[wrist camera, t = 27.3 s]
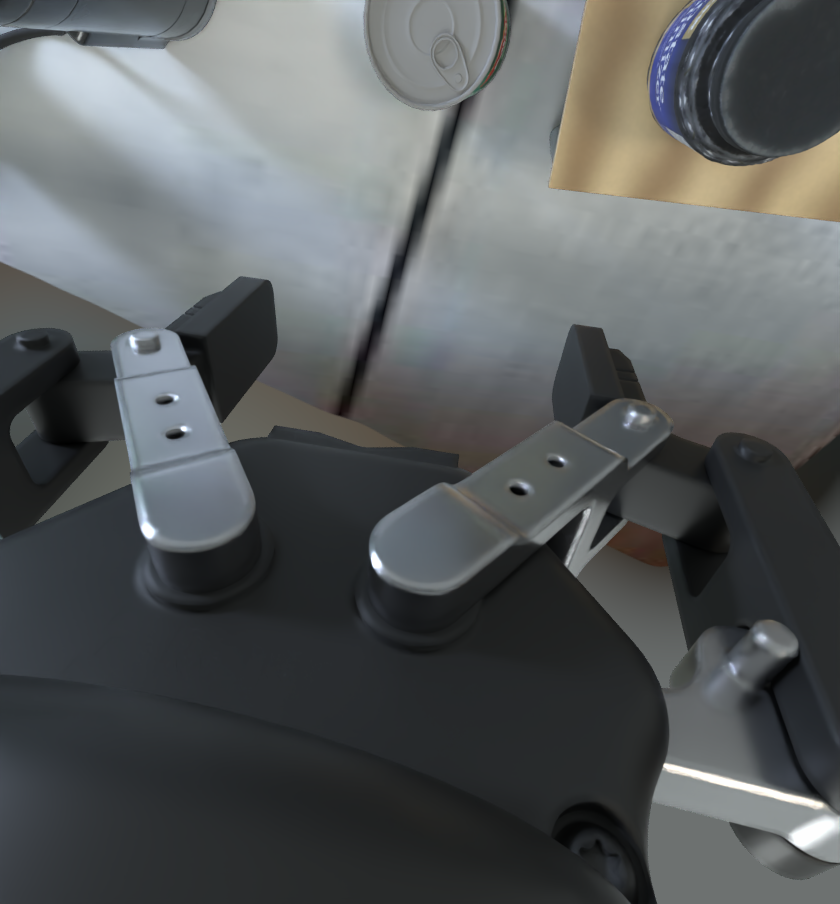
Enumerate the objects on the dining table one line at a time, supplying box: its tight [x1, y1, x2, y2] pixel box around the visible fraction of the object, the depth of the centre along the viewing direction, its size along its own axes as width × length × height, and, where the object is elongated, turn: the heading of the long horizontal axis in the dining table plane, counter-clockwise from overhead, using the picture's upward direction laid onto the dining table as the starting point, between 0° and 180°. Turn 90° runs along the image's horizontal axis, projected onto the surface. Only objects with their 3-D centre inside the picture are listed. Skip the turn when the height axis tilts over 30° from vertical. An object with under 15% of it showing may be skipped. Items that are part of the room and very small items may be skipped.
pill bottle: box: [647, 0, 840, 166], centre depth 20 cm, size 6×6×11 cm
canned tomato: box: [363, 0, 511, 111], centre depth 33 cm, size 8×8×11 cm
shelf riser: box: [549, 0, 840, 222], centre depth 29 cm, size 22×12×17 cm, turn 86°
